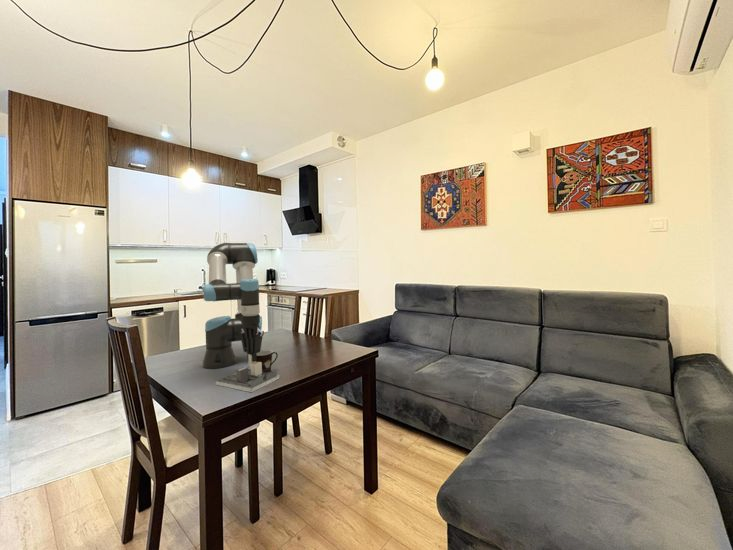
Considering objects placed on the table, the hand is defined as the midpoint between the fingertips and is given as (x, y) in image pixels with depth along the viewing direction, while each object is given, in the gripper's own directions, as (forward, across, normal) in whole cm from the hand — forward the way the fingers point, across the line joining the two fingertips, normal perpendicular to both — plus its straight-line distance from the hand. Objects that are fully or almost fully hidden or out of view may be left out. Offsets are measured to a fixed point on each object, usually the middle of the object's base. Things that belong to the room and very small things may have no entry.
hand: (252, 368), depth 137 cm
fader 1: (+3, +2, -8) cm, 8 cm away
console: (+4, +1, -4) cm, 6 cm away
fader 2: (+3, +2, 0) cm, 3 cm away
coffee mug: (+5, +1, +7) cm, 9 cm away
